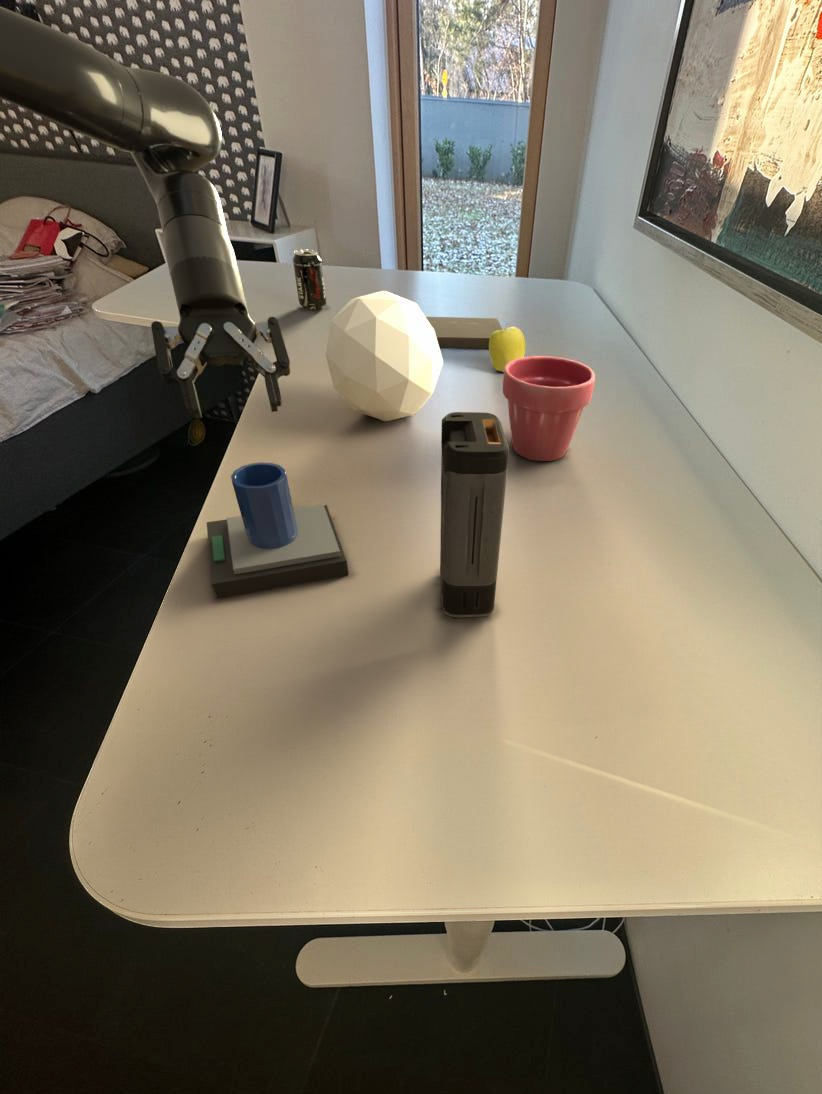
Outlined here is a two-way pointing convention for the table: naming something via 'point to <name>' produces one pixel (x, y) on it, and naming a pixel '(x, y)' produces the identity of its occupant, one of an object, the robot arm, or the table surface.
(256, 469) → the cup
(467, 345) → the hardcover book
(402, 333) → the geometric sculpture
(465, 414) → the electronic device
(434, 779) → the table surface
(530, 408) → the flower pot
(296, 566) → the kitchen scale
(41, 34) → the robot arm
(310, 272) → the beverage can
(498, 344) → the apple
